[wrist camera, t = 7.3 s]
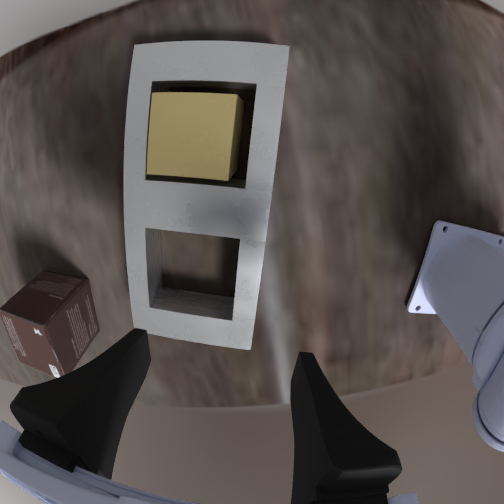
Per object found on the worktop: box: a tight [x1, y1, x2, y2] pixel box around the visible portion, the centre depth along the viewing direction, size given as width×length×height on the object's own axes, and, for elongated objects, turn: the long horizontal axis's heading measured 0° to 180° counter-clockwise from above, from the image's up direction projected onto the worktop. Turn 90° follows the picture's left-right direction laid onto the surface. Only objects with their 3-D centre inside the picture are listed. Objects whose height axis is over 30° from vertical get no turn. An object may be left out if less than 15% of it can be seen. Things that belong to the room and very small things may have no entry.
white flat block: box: [124, 41, 290, 350], centre depth 18 cm, size 9×20×3 cm, turn 174°
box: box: [0, 271, 100, 377], centre depth 21 cm, size 6×6×7 cm
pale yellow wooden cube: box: [147, 92, 245, 181], centre depth 16 cm, size 4×4×4 cm
